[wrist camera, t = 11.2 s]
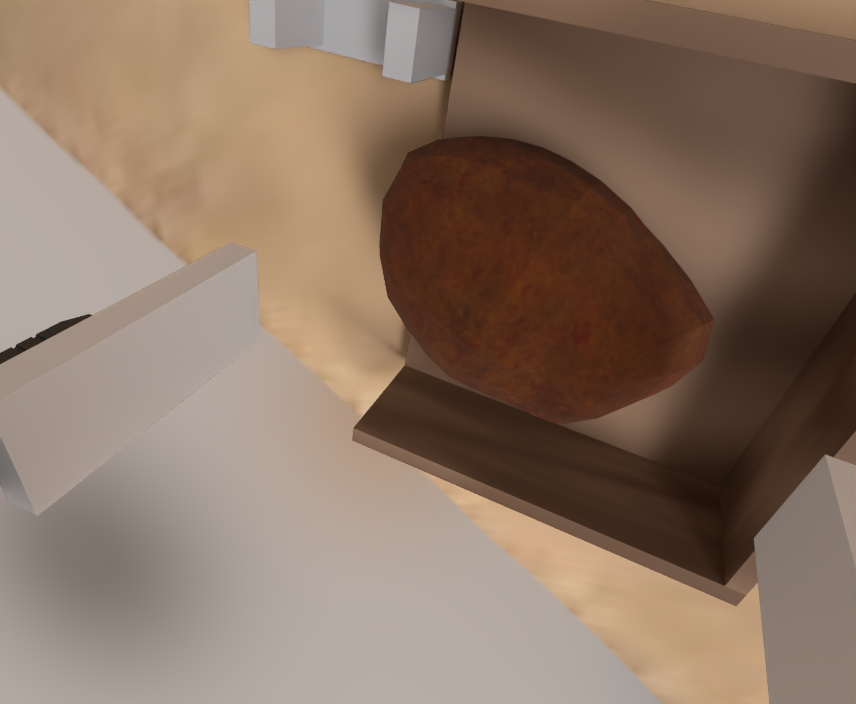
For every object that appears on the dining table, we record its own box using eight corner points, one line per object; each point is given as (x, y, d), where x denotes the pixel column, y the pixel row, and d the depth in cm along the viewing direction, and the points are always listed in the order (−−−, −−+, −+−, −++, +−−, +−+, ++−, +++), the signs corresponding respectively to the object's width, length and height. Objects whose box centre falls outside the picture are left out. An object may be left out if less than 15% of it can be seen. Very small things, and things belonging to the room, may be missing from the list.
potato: (617, 403, 23) (587, 553, 16) (391, 244, 23) (278, 331, 17) (768, 264, 18) (809, 400, 12) (480, 68, 18) (369, 97, 12)
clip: (311, -30, 20) (247, -37, 17) (462, 2, 19) (421, 0, 16) (309, 44, 21) (250, 49, 19) (450, 78, 20) (409, 89, 17)
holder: (482, -31, 18) (403, -47, 13) (1021, 72, 14) (1188, 104, 10) (413, 364, 27) (352, 440, 22) (727, 485, 24) (736, 606, 19)
